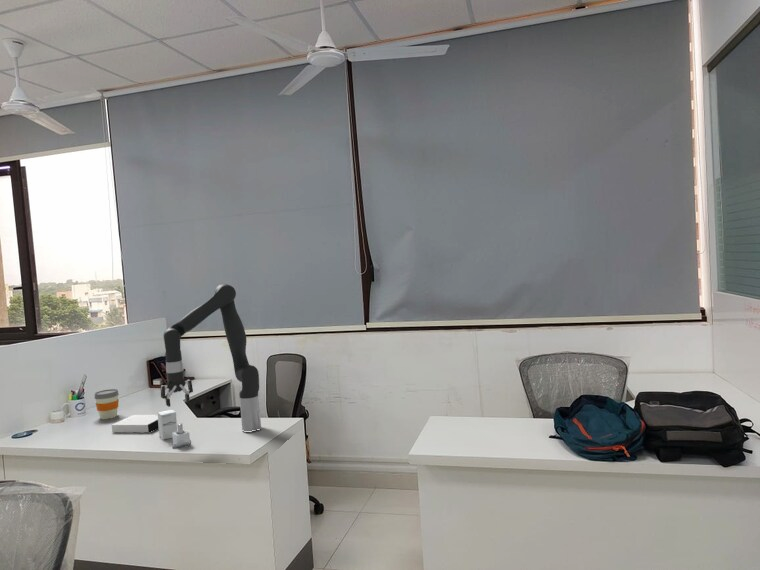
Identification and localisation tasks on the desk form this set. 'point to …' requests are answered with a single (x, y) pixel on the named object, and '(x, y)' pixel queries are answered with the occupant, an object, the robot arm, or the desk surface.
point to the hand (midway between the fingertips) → (178, 404)
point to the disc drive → (137, 424)
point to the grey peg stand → (180, 431)
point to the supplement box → (167, 423)
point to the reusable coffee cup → (107, 403)
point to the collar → (181, 438)
